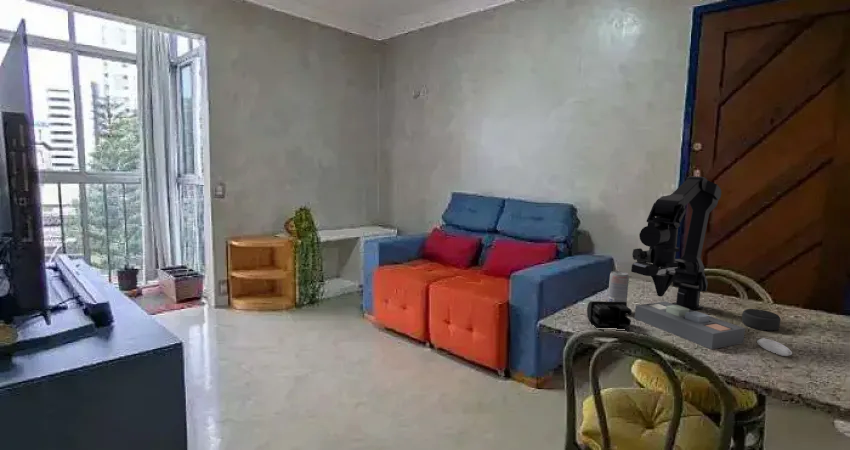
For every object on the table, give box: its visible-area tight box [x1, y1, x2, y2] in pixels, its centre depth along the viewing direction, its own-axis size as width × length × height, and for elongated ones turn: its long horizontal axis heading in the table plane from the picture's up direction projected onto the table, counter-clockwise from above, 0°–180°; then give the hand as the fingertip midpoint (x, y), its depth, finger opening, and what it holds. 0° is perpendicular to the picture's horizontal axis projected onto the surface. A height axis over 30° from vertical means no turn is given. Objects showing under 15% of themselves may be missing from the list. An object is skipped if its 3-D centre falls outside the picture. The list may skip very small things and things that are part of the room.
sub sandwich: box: [756, 337, 793, 357], centre depth 118 cm, size 3×8×3 cm, turn 14°
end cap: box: [586, 300, 633, 331], centre depth 133 cm, size 10×7×7 cm
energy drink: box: [607, 270, 630, 303], centre depth 145 cm, size 5×5×12 cm
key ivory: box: [649, 304, 666, 310], centre depth 139 cm, size 4×4×2 cm
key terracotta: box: [706, 324, 731, 331], centre depth 123 cm, size 4×4×2 cm
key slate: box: [685, 310, 710, 324], centre depth 128 cm, size 4×4×2 cm
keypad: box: [634, 301, 746, 350], centre depth 131 cm, size 12×24×4 cm, turn 23°
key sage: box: [666, 305, 689, 316], centre depth 134 cm, size 4×4×2 cm
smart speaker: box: [741, 308, 781, 332], centre depth 136 cm, size 9×9×4 cm
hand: (659, 296), depth 139 cm, fingers closed
